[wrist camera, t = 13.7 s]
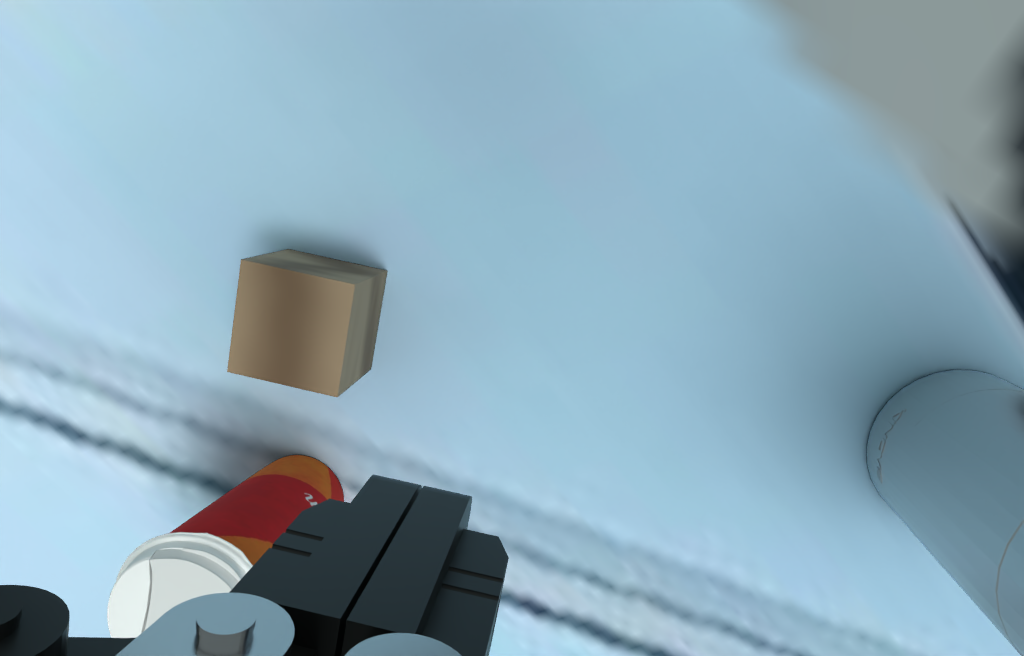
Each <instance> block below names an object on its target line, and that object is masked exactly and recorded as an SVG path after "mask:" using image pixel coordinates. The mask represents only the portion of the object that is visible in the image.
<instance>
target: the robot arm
mask: <svg viewBox="0 0 1024 656" xmlns="http://www.w3.org/2000/svg"><path fill="white" fill-rule="evenodd" d="M867 465H868V469H869V473H870V476H871V480H872V482H873V484H874V486H875V487H876V489H877V491H878V493H879V495H880V496H881V497H882V498H883V499H884V500H885V502H886V503H887V504H888V505H889V506H890V507H891V508H892V510H893V511H894V512H895V513H896V514H897V515H898V516H899V518H900V519H901V520H902V521H903V522H904V523H905V524H906V526H907V527H908V528H909V529H910V531H911V532H912V533H913V534H914V535H915V536H916V538H917V539H918V540H919V541H920V542H921V543H922V544H923V545H924V547H925V548H926V549H927V550H928V551H929V552H930V553H931V554H932V556H933V557H934V558H935V559H936V560H937V561H938V562H939V563H940V565H941V566H942V567H943V568H944V569H945V570H946V571H947V572H948V574H949V575H950V576H951V577H952V578H953V579H954V580H955V581H956V583H957V584H958V585H959V586H960V587H961V588H962V589H963V591H964V592H965V593H966V594H967V595H968V596H969V597H970V598H971V600H972V601H973V602H974V603H975V604H976V605H977V606H978V607H979V609H980V610H981V611H982V612H983V613H984V614H985V615H986V616H987V618H988V619H989V620H990V621H991V622H992V623H993V624H994V625H995V627H996V628H997V629H998V630H999V631H1000V632H1001V633H1002V634H1003V636H1004V637H1005V638H1006V639H1007V640H1008V641H1009V642H1010V644H1011V645H1012V646H1013V647H1014V648H1015V649H1016V650H1017V651H1018V653H1019V654H1020V655H1021V656H1024V389H1022V388H1019V387H1017V386H1015V385H1013V384H1011V383H1009V382H1007V381H1005V380H1003V379H1001V378H998V377H996V376H994V375H992V374H987V373H983V372H979V371H974V370H950V371H944V372H938V373H934V374H931V375H929V376H926V377H923V378H920V379H918V380H916V381H914V382H913V383H911V384H909V385H908V386H906V387H904V388H903V389H901V390H900V391H899V392H898V393H897V394H896V395H894V396H893V397H892V398H891V399H890V400H889V401H888V402H887V403H886V405H885V406H884V407H883V409H882V410H881V411H880V413H879V414H878V416H877V417H876V420H875V422H874V424H873V426H872V429H871V431H870V435H869V440H868V445H867ZM471 503H472V496H467V495H463V494H459V493H454V492H450V491H445V490H441V489H436V488H432V487H427V486H424V487H423V488H422V487H421V485H418V484H413V483H409V482H404V481H400V480H395V479H391V478H386V477H382V476H378V475H372V476H371V477H370V479H369V480H368V481H367V482H366V484H365V485H364V486H363V488H362V489H361V490H360V492H359V493H358V494H357V495H356V497H355V498H354V499H353V501H352V502H351V503H347V502H343V501H338V500H334V499H328V500H326V501H323V502H321V503H319V504H317V505H314V506H312V507H310V508H308V509H305V510H303V511H302V512H301V513H300V514H299V515H298V516H297V517H296V519H295V520H294V521H293V522H292V523H291V524H290V525H289V526H288V527H287V529H286V532H285V533H284V532H283V533H282V534H281V535H280V536H279V537H278V539H277V540H276V541H275V542H274V543H273V545H272V548H269V549H268V550H267V551H266V552H265V553H264V554H263V555H262V556H261V558H260V559H259V560H258V561H257V562H256V563H255V564H254V565H253V566H252V568H251V569H250V570H249V571H248V572H247V573H246V574H245V575H244V576H243V578H242V579H241V580H240V581H239V582H238V583H237V584H236V585H235V587H234V588H233V589H232V590H231V591H230V592H229V593H214V594H209V595H203V596H199V597H196V598H192V599H190V600H187V601H185V602H182V603H180V604H178V605H176V606H175V607H173V608H171V609H170V610H169V611H167V612H166V613H165V614H163V615H162V616H161V617H160V618H159V619H158V620H156V621H155V622H154V623H153V624H152V625H151V626H149V627H148V628H147V629H146V630H145V631H144V632H142V633H141V634H140V635H139V636H138V637H137V638H87V637H68V631H69V610H68V607H67V605H66V604H65V603H64V601H63V600H62V599H61V598H59V597H58V596H56V595H55V594H53V593H51V592H49V591H46V590H43V589H39V588H36V587H29V586H21V585H0V656H489V652H490V647H491V642H492V637H493V632H494V627H495V622H496V617H497V612H498V607H499V603H500V598H501V593H502V588H503V583H504V578H505V573H506V568H507V563H508V556H507V554H506V551H505V549H504V547H503V545H502V543H501V541H500V539H499V537H497V536H493V535H488V534H484V533H479V532H475V531H471V530H467V527H468V521H469V516H470V510H471Z"/></svg>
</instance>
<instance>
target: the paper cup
mask: <svg viewBox="0 0 1024 656" xmlns="http://www.w3.org/2000/svg"><path fill="white" fill-rule="evenodd" d="M328 499H334V500H338V501H343V502H344V495H343V490H342V487H341V484H340V482H339V480H338V478H337V477H336V475H335V474H334V473H333V471H332V470H331V469H330V468H329V467H327V466H326V465H325V464H324V463H322V462H320V461H319V460H317V459H314V458H312V457H309V456H304V455H290V456H286V457H283V458H280V459H278V460H276V461H274V462H272V463H271V464H269V465H268V466H266V467H264V468H263V469H261V470H260V471H258V472H257V473H255V474H254V475H252V476H251V477H249V478H248V479H247V480H245V481H244V482H242V483H241V484H239V485H238V486H236V487H235V488H233V489H232V490H231V491H229V492H228V493H226V494H225V495H223V496H222V497H220V498H219V499H218V500H216V501H215V502H213V503H212V504H210V505H209V506H208V507H206V508H205V509H203V510H202V511H200V512H199V513H198V514H196V515H195V516H193V517H192V518H190V519H189V520H188V521H186V522H185V523H183V524H182V525H180V526H179V527H178V528H176V529H175V530H173V531H172V532H170V533H168V534H164V535H160V536H157V537H155V538H152V539H150V540H148V541H146V542H145V543H143V544H142V545H140V546H139V547H138V548H136V549H135V550H134V551H133V552H132V553H131V554H130V555H129V556H128V558H127V559H126V561H125V562H124V564H123V565H122V567H121V569H120V572H119V574H118V576H117V580H116V583H115V584H114V587H113V589H112V591H111V594H110V598H109V603H108V613H107V618H108V627H109V631H110V634H111V638H137V637H138V636H139V635H140V634H141V633H142V632H144V631H145V630H146V629H147V628H148V627H149V626H151V625H152V624H153V623H154V622H155V621H156V620H158V619H159V618H160V617H161V616H162V615H163V614H165V613H166V612H167V611H169V610H170V609H171V608H173V607H175V606H176V605H178V604H180V603H182V602H185V601H187V600H190V599H192V598H196V597H199V596H203V595H209V594H214V593H229V592H230V591H231V590H232V589H233V588H234V587H235V585H236V584H237V583H238V582H239V581H240V580H241V579H242V578H243V576H244V575H245V574H246V573H247V572H248V571H249V570H250V569H251V568H252V566H253V565H254V564H255V563H256V562H257V561H258V560H259V559H260V558H261V556H262V555H263V554H264V553H265V552H266V551H267V550H268V549H269V548H272V545H273V543H274V542H275V541H276V540H277V539H278V537H279V536H280V535H281V534H282V533H283V532H284V533H285V532H286V529H287V527H288V526H289V525H290V524H291V523H292V522H293V521H294V520H295V519H296V517H297V516H298V515H299V514H300V513H301V512H302V511H303V510H305V509H308V508H310V507H312V506H314V505H317V504H319V503H321V502H323V501H326V500H328Z"/></svg>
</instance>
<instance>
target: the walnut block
mask: <svg viewBox="0 0 1024 656" xmlns="http://www.w3.org/2000/svg"><path fill="white" fill-rule="evenodd" d="M386 277H387V270H382V269H377V268H373V267H368V266H364V265H359V264H355V263H350V262H345V261H341V260H336V259H332V258H327V257H323V256H318V255H313V254H309V253H304V252H300V251H295V250H291V249H286V250H282V251H277V252H273V253H268V254H264V255H259V256H255V257H250V258H246V259H241V265H240V273H239V281H238V289H237V297H236V305H235V313H234V321H233V329H232V338H231V346H230V354H229V362H228V370H227V372H230V373H235V374H239V375H243V376H248V377H252V378H256V379H261V380H265V381H269V382H274V383H278V384H282V385H287V386H291V387H295V388H299V389H304V390H308V391H312V392H317V393H321V394H325V395H330V396H334V397H338V396H339V395H341V394H342V393H343V392H344V391H345V390H347V389H348V388H349V387H350V386H351V385H353V384H354V383H355V382H356V381H357V380H359V379H360V378H361V377H362V376H363V375H365V374H366V373H367V372H368V371H369V370H371V367H372V361H373V355H374V349H375V343H376V337H377V331H378V325H379V319H380V313H381V307H382V301H383V295H384V289H385V283H386Z"/></svg>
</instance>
